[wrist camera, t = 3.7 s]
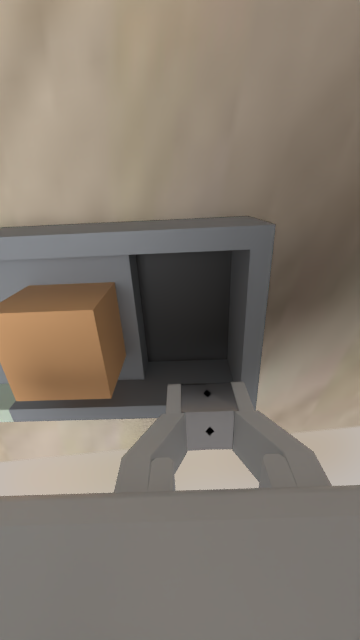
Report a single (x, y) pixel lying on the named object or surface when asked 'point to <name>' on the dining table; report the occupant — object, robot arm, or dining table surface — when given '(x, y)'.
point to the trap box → (153, 303)
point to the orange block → (62, 341)
